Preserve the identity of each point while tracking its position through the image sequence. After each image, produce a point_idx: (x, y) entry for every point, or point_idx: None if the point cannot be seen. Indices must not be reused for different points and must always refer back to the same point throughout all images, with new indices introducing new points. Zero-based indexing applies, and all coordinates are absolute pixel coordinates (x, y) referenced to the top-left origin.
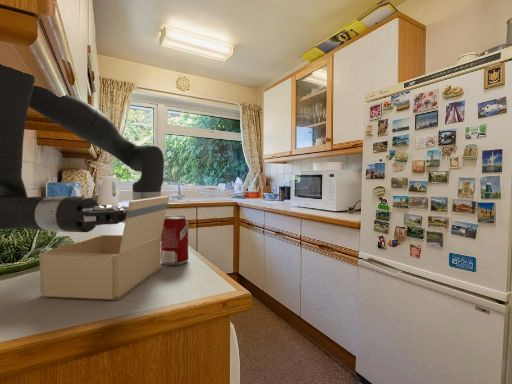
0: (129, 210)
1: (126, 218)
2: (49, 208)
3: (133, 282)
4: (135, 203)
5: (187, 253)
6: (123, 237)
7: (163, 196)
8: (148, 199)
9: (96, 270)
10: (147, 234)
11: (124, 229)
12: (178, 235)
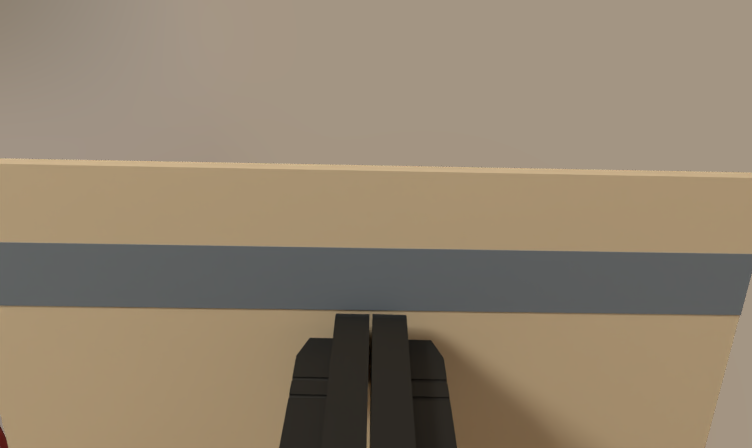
0: (744, 249)
1: (735, 319)
2: None
3: None
4: (691, 192)
5: None
6: (697, 444)
7: (55, 164)
8: (470, 167)
9: None
10: None
11: (714, 395)
12: (3, 435)
